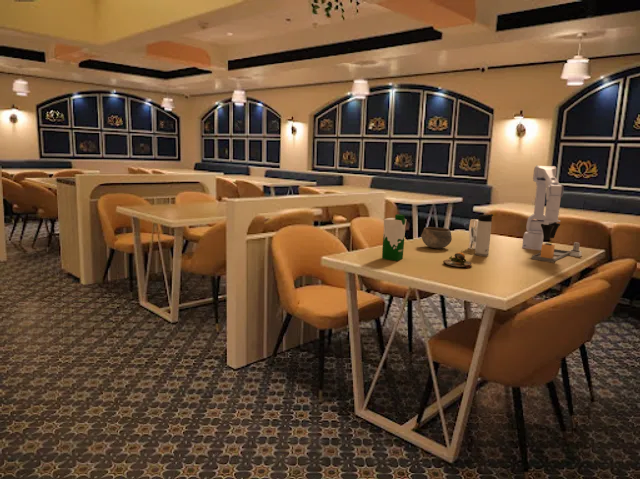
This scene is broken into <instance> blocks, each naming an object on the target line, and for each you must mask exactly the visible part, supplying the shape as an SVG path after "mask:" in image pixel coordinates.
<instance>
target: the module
mask: <svg viewBox="0 0 640 479" xmlns="http://www.w3.org/2000/svg"><path fill="white" fill-rule="evenodd" d="M555 245H556V244H552V243H549V242H548V243H547V242H546V243H543V244H542V248H541V250H540V252H541V257H544V258H553V256H554V249H555V247H556V246H555Z"/></svg>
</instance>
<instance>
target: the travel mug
mask: <svg viewBox="0 0 640 479" xmlns="http://www.w3.org/2000/svg"><path fill="white" fill-rule="evenodd" d="M493 217H494V214H493V213H491V214H479V215H478V227H477V237H476V247H475V250H474V255H475V256H480V257H488V256H489V252H490V242H491V231H492V221H493V220H492V219H493Z"/></svg>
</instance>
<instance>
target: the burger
mask: <svg viewBox="0 0 640 479" xmlns="http://www.w3.org/2000/svg"><path fill="white" fill-rule="evenodd" d="M442 262H443V264H446V265H448V266H453V267H458V268H459V267H460V268H463V267H465V268H466V270H467V269H470V268H473V266H472V262H470V261H467V259H466V255H465V254H464V253H463V250H461V251H459V252H455V253H454V256H453V257H452V255H450V256H449V258H448V259H444V260H443V261H442Z"/></svg>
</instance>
